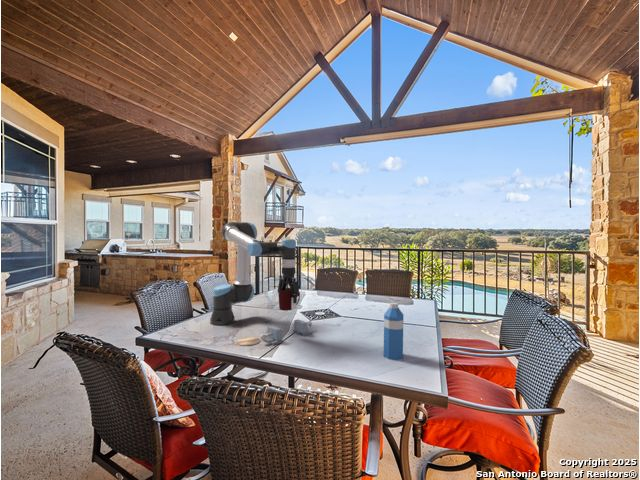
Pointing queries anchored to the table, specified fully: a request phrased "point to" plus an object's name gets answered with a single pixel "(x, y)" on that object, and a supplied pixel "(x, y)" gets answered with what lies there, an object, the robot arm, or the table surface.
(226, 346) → the table surface
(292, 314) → the table surface
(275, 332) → the vise
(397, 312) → the water bottle
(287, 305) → the mug
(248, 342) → the coaster
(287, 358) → the table surface
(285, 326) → the table surface
